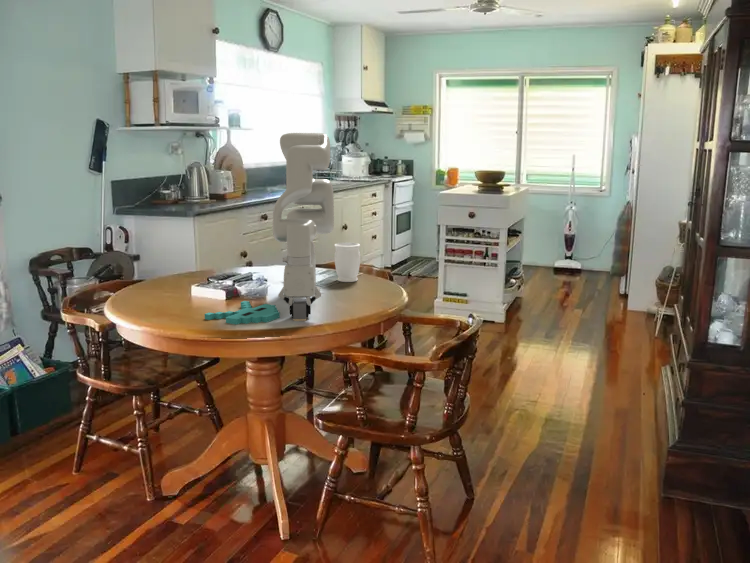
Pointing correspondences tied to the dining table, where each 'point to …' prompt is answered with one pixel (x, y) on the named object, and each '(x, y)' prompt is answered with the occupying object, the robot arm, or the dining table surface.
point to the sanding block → (299, 310)
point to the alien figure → (247, 314)
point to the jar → (347, 261)
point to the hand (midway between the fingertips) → (300, 316)
